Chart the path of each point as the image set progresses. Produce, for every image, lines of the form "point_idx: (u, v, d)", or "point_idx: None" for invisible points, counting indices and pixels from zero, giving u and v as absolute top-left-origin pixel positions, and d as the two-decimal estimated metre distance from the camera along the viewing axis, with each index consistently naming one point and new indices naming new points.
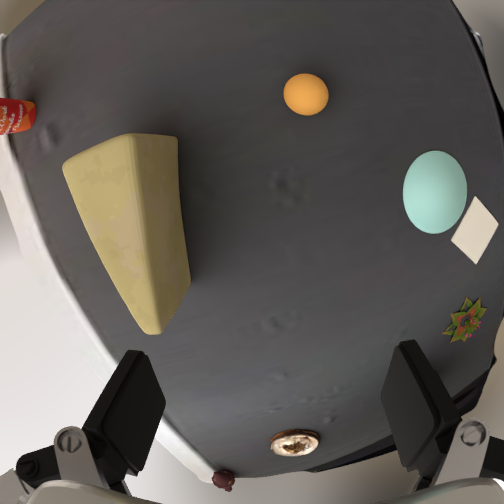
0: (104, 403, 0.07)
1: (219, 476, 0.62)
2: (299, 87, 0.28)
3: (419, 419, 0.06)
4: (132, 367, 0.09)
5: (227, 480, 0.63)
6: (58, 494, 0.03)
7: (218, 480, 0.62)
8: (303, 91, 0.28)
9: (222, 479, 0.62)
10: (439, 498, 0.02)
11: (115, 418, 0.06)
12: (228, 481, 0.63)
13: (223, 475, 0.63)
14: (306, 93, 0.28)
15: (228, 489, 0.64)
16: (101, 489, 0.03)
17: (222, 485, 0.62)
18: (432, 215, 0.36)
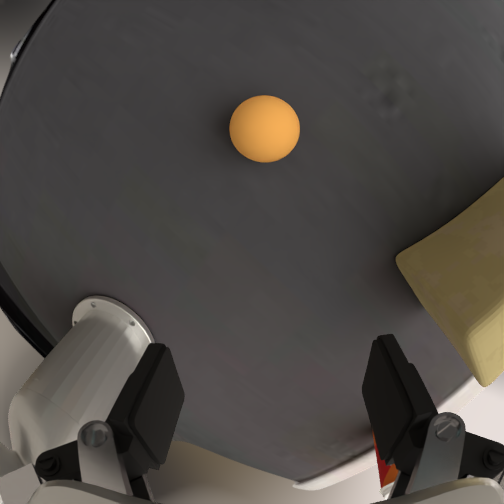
0: (129, 395, 0.07)
1: None
2: (269, 139, 0.19)
3: (393, 412, 0.06)
4: (154, 360, 0.09)
5: None
6: (58, 494, 0.03)
7: None
8: (271, 131, 0.18)
9: None
10: (439, 498, 0.02)
11: (141, 410, 0.07)
12: None
13: None
14: (271, 126, 0.18)
15: None
16: (101, 489, 0.03)
17: None
18: None
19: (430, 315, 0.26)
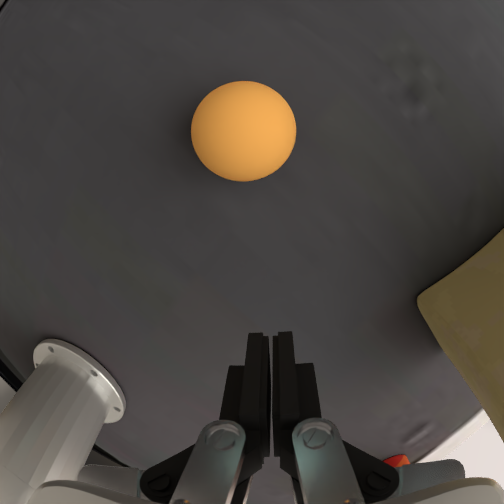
0: (252, 386, 0.07)
1: None
2: (248, 147, 0.12)
3: None
4: None
5: None
6: (58, 494, 0.03)
7: None
8: (251, 133, 0.11)
9: None
10: (439, 498, 0.02)
11: None
12: None
13: None
14: (251, 126, 0.11)
15: None
16: (101, 489, 0.03)
17: None
18: None
19: (452, 362, 0.19)
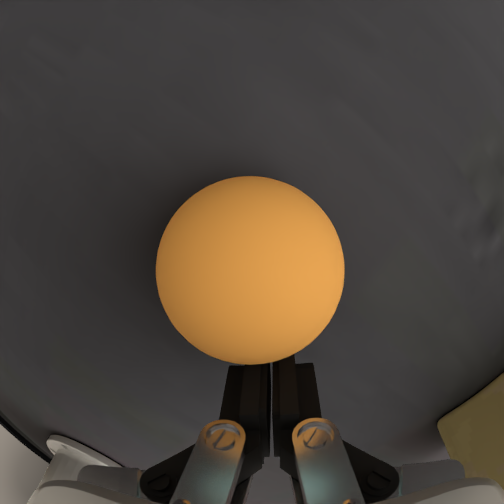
0: (252, 386, 0.07)
1: None
2: (253, 260, 0.06)
3: None
4: None
5: None
6: (58, 494, 0.03)
7: None
8: (260, 231, 0.06)
9: None
10: (439, 498, 0.02)
11: None
12: None
13: None
14: (260, 216, 0.06)
15: None
16: (101, 489, 0.03)
17: None
18: None
19: None
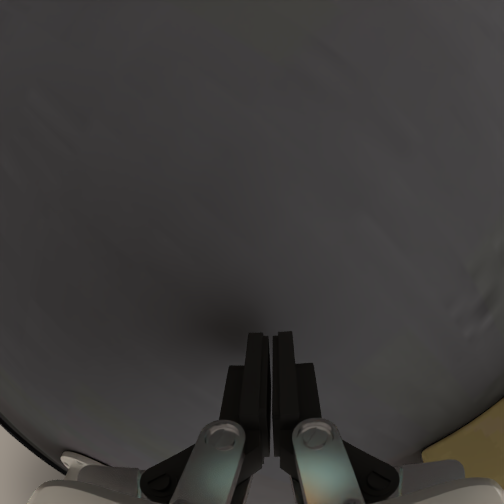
0: (252, 386, 0.07)
1: None
2: None
3: None
4: None
5: None
6: (58, 494, 0.03)
7: None
8: None
9: None
10: (439, 498, 0.02)
11: None
12: None
13: None
14: None
15: None
16: (101, 489, 0.03)
17: None
18: None
19: None
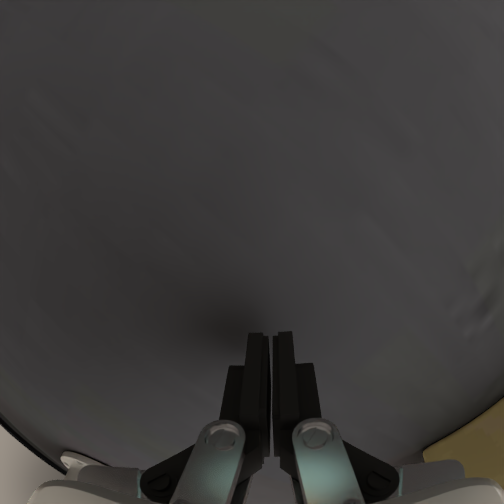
0: (252, 386, 0.07)
1: None
2: None
3: None
4: None
5: None
6: (58, 494, 0.03)
7: None
8: None
9: None
10: (439, 498, 0.02)
11: None
12: None
13: None
14: None
15: None
16: (101, 489, 0.03)
17: None
18: None
19: None
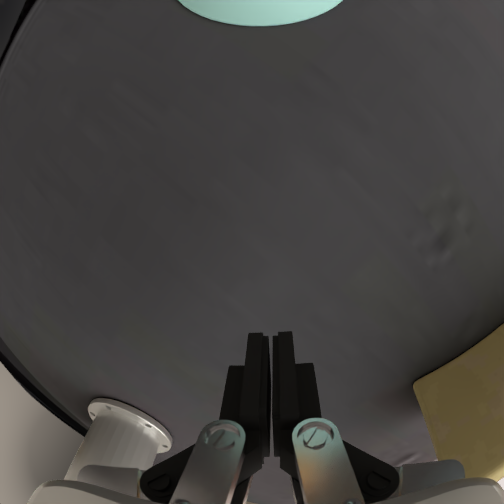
0: (252, 386, 0.07)
1: None
2: None
3: None
4: (259, 350, 0.09)
5: None
6: (58, 494, 0.03)
7: None
8: None
9: None
10: (439, 498, 0.02)
11: None
12: None
13: None
14: None
15: None
16: (101, 489, 0.03)
17: None
18: None
19: None
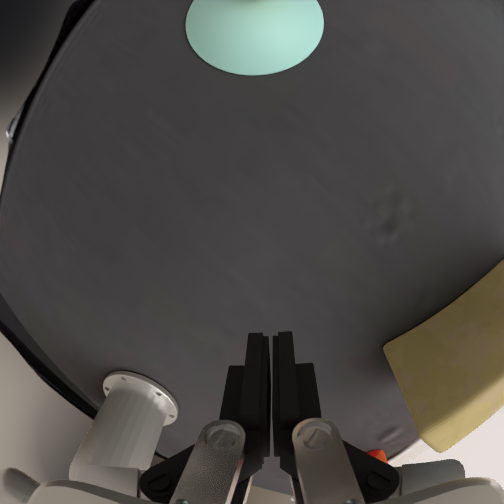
0: (252, 386, 0.07)
1: None
2: None
3: None
4: (259, 350, 0.09)
5: None
6: (58, 494, 0.03)
7: None
8: None
9: None
10: (439, 498, 0.02)
11: None
12: None
13: None
14: None
15: None
16: (101, 489, 0.03)
17: None
18: (289, 5, 0.18)
19: None
